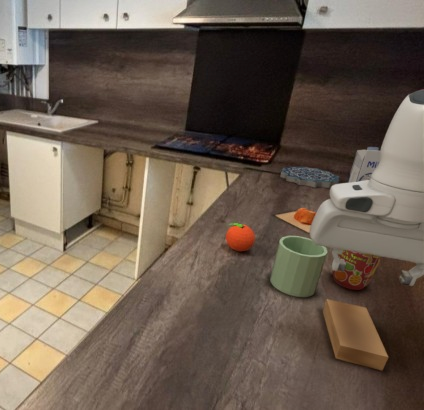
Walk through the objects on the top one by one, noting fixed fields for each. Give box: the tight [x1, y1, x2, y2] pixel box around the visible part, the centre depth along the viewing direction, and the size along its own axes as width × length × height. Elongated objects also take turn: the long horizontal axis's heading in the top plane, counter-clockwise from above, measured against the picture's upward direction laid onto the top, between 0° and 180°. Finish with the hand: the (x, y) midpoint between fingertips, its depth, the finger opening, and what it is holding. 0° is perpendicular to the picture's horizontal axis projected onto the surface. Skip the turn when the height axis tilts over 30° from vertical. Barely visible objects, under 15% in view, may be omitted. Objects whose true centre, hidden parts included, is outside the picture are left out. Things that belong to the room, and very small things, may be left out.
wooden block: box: [322, 298, 389, 372], centre depth 64 cm, size 6×13×3 cm, turn 157°
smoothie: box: [331, 250, 383, 291], centre depth 76 cm, size 8×8×20 cm
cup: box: [269, 235, 329, 298], centre depth 78 cm, size 9×9×10 cm
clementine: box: [224, 222, 256, 252], centre depth 93 cm, size 8×7×7 cm
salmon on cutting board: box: [274, 207, 317, 234], centre depth 108 cm, size 12×12×4 cm
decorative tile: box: [279, 165, 340, 189], centre depth 143 cm, size 20×20×2 cm
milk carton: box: [346, 146, 381, 183], centre depth 115 cm, size 7×7×20 cm
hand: (370, 276), depth 60 cm, fingers open, 8 cm apart
